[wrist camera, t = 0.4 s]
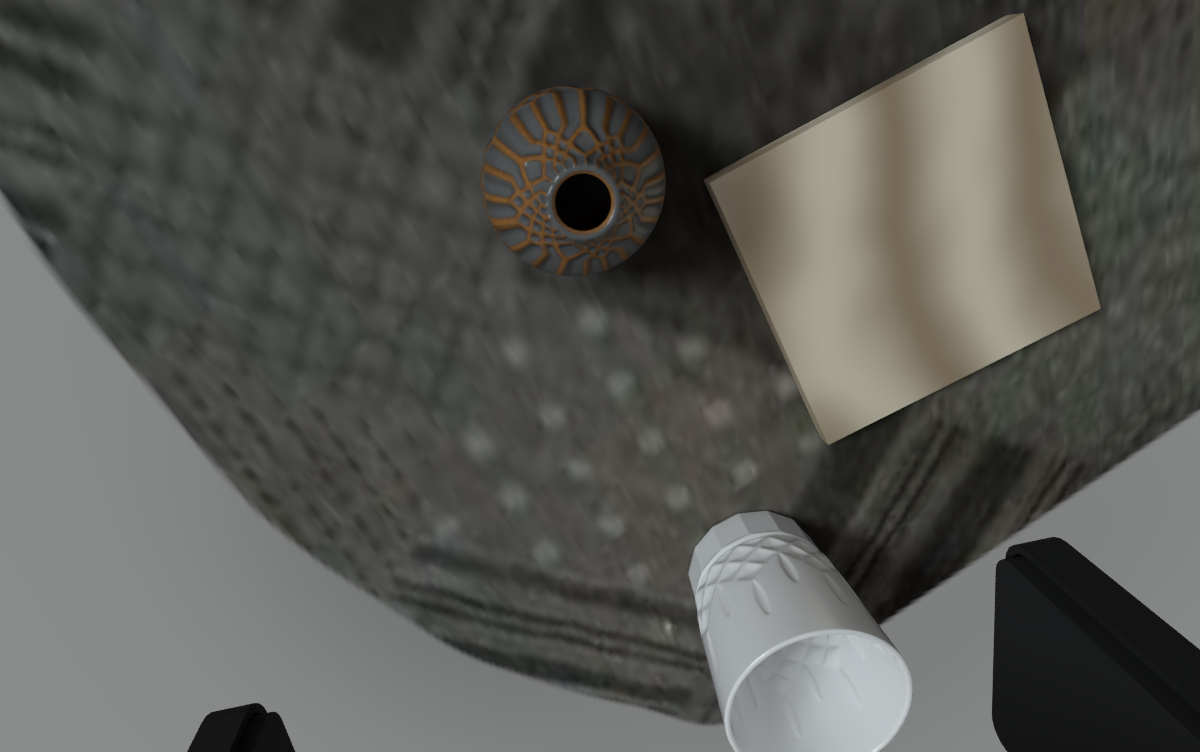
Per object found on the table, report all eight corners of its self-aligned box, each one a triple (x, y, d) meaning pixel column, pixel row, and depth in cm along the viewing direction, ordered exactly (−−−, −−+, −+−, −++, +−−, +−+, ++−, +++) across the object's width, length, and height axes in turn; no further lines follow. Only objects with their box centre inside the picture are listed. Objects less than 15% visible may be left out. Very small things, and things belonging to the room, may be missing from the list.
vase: (673, 210, 33) (723, 252, 25) (531, 280, 33) (535, 343, 25) (607, 54, 30) (638, 44, 22) (454, 132, 31) (431, 149, 23)
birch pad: (1005, 15, 31) (1023, 13, 30) (1082, 301, 36) (1100, 308, 35) (703, 179, 33) (709, 182, 31) (818, 434, 38) (828, 445, 37)
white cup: (646, 564, 39) (685, 712, 30) (765, 470, 38) (843, 595, 29) (737, 648, 42) (798, 809, 33) (851, 563, 41) (948, 705, 31)
